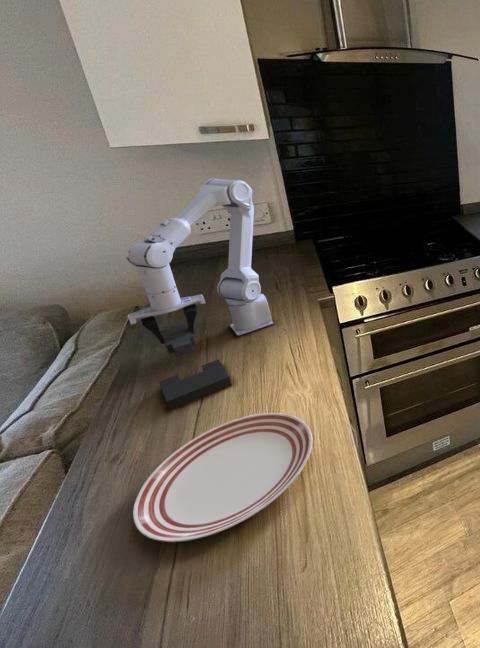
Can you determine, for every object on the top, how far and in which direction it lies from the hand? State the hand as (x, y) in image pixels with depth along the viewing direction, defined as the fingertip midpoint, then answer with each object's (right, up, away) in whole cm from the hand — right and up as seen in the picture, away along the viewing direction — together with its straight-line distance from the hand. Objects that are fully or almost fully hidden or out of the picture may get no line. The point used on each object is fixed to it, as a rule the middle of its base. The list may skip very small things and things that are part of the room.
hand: (177, 337), depth 110 cm
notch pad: (+9, -11, -5) cm, 15 cm away
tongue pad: (+1, -2, 0) cm, 2 cm away
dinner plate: (+35, -21, -29) cm, 49 cm away
